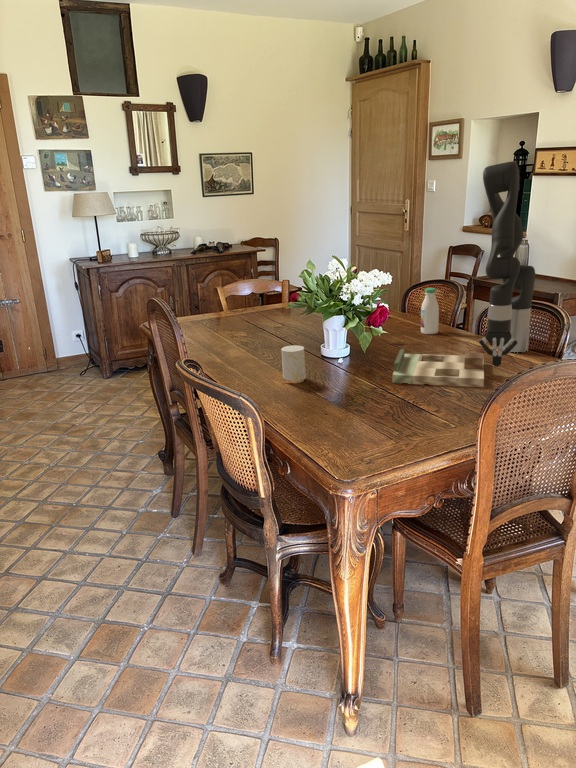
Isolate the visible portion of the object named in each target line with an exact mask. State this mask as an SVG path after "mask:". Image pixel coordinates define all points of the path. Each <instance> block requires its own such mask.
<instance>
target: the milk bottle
mask: <svg viewBox="0 0 576 768" xmlns="http://www.w3.org/2000/svg"><path fill="white" fill-rule="evenodd" d="M436 293H437V288H434V287H426V288H425V289H424V294H425V296H424V299H423V301H422V303H421V308H420V333H421V334H423V335H424V334H425V335H436V334H438V333H439V319H440V315H439V312H440V308H439V302H438V301H437V298H436Z"/></svg>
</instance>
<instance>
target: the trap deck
mask: <svg viewBox="0 0 576 768" xmlns="http://www.w3.org/2000/svg"><path fill="white" fill-rule="evenodd" d="M484 358H485V357H484V355H483V366H482V369H464V362H465V355H460V354H459V355H457V354H456V355H454V354H453V355H452V354H430V353H429V354H427V353H425V354H424V353H422V354H421V353H420V354H419V353H405V348H400V349H399V352H398V353H397V356H396V358H395V360H394V363H393V373H392V379H391V380H392V384H402V383H408V384H407V385H409V384H410V385H424V384H429V385H428V386H445V385H448V386H451V387H468V388H470V387H472V388H474V387H475V388H484V387H485V385H484V384H485V366H484V364H485V363H484V361H485V359H484ZM448 386H447V387H448Z"/></svg>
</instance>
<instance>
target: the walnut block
mask: <svg viewBox="0 0 576 768" xmlns="http://www.w3.org/2000/svg"><path fill="white" fill-rule="evenodd" d="M464 356H465V362H464V369H482V366H483V356H484V354H483V353H482V352H480V353H479V352H478V353H477V352H465V353H464Z"/></svg>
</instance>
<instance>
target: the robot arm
mask: <svg viewBox="0 0 576 768" xmlns="http://www.w3.org/2000/svg"><path fill="white" fill-rule="evenodd" d="M518 166H519V165H518V163H517V162H516V161H514V160H513V161H507V162H502V163H501V162H500V163H497V164H493V165H488V166H486V167H485V168H484V169H483V172H482V180H483V181H482V182H483V186H484V189H485V193H486V197H487V201H488V204H489V207H490V211H491V216H492V226H491V247H490V253H489V257H488V259H487V263H486V266H485V274H486V276H487V278H489V279H490V280H502V284H498V285H494V286H492V287H491V288H490V290H489V291H490V292H489V304H488V310H487V326H486V332H485V334H484V335H485V336H483V337H482V338H479V339H478V342H479V344H480V346H481V347H482V348H483V350H484V351H485V352H486V354H487V355H488V356H489V355H490V356H492V358H491V359H492V360H491V361H492V362H491V363H492V365H493V367H495V368H496V367H497V368H499V366H501V364H502V357H503V356H507V355H508V354H509V353H511V352H514V354H515V352H517V353H516V354H519V353H518V352H522V353H528V352H529V342H530V331H531V330H530V322H531V310H532V302H533V295H534V289H535V288H534V287H535V281H536V269H535V267H534V266H533V265H527V264H526V265H525V264H524V265H523V264H521V263H520V259H519V258H518V257H516V256H515V254H516V251H518V250H519V247H520V245H521V244H522V242H523V239H524V229H523V224H522V223H523V222H522V220H521V218H520V216H519V215H518V213H516V212H517V211H516V210H517V204H518V198H519V197H518V196H519V188H520V170H519V167H518ZM506 192H507V195H506V197H505V198H506V199H505V201H504V200H503V199H502V198H501V195H500V193H506ZM514 290H517V291H518V290H519V291H520V292H519V295H516V296H513V291H514ZM487 342H488V343H489V344H490V346H491V347H492V349H491V348H490V347H489V346H488V344H487ZM497 347H498V350H497ZM526 351H527V352H526Z"/></svg>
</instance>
